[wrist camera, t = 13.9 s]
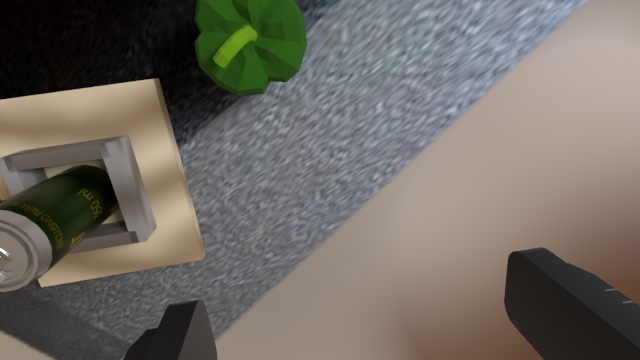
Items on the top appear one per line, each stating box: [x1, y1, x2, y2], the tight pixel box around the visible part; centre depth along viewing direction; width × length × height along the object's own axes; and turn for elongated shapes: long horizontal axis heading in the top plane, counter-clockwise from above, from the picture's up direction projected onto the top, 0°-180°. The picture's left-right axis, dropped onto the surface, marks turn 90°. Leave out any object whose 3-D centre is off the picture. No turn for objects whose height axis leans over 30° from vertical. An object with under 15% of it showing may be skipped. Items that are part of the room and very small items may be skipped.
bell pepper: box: [194, 0, 307, 96], centre depth 27 cm, size 8×8×10 cm
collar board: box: [0, 78, 206, 287], centre depth 32 cm, size 18×16×4 cm
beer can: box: [0, 165, 119, 292], centre depth 27 cm, size 5×5×12 cm
